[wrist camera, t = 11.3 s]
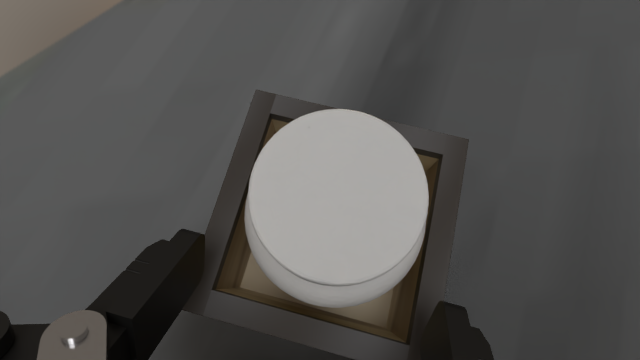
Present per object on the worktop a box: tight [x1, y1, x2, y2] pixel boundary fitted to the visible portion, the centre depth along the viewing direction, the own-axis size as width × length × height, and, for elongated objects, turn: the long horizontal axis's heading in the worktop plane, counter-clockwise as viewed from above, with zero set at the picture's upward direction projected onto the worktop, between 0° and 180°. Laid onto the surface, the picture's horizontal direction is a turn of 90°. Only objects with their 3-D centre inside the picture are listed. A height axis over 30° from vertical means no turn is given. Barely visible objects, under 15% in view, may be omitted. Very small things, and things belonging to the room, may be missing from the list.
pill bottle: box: [244, 109, 429, 308], centre depth 14 cm, size 6×6×11 cm
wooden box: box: [182, 90, 469, 360], centre depth 18 cm, size 10×10×6 cm
